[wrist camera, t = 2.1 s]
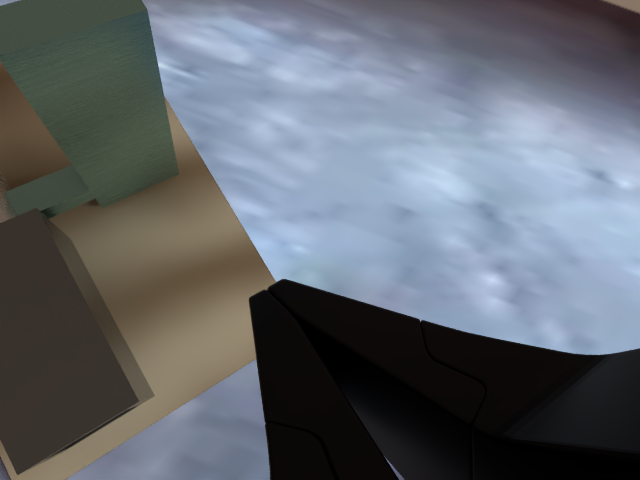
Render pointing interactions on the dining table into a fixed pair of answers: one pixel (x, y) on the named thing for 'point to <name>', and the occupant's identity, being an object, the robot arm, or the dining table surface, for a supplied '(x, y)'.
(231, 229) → the birch board
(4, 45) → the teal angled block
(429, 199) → the dining table surface
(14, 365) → the sleeve
